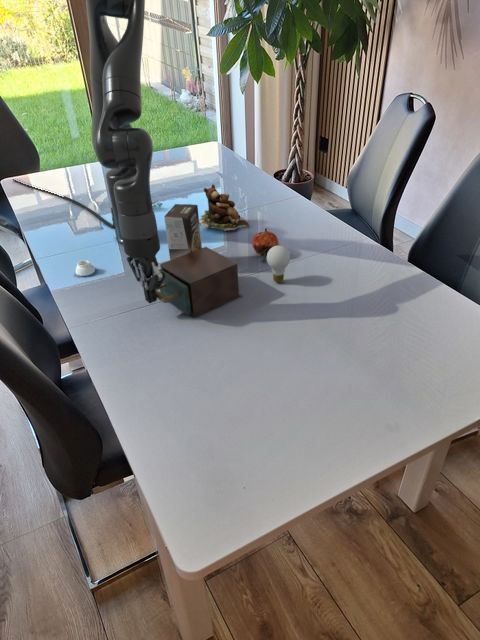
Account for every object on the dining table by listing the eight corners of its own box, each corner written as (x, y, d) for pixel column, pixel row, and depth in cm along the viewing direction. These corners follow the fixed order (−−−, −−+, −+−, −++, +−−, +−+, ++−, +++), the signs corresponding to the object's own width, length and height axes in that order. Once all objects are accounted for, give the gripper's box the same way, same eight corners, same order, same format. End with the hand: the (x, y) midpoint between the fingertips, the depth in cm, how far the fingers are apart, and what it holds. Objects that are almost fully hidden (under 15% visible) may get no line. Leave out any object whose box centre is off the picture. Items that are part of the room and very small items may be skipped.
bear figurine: (221, 238, 151) (218, 198, 144) (192, 223, 160) (188, 185, 153) (255, 225, 158) (254, 187, 151) (226, 211, 167) (223, 175, 160)
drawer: (171, 322, 114) (167, 295, 109) (145, 303, 121) (140, 276, 116) (229, 296, 123) (227, 269, 118) (201, 279, 129) (199, 253, 125)
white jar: (98, 272, 135) (89, 266, 138) (96, 262, 133) (87, 256, 136) (82, 279, 132) (72, 272, 135) (79, 269, 131) (70, 263, 134)
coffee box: (194, 275, 133) (187, 217, 123) (171, 273, 134) (162, 216, 124) (204, 259, 140) (198, 204, 130) (182, 258, 141) (175, 202, 131)
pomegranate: (278, 266, 140) (284, 235, 143) (272, 255, 134) (277, 221, 136) (254, 266, 143) (259, 234, 145) (246, 254, 136) (252, 221, 138)
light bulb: (292, 278, 131) (293, 243, 125) (285, 289, 126) (286, 253, 120) (271, 275, 132) (270, 240, 126) (263, 285, 128) (263, 250, 122)
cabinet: (194, 317, 117) (190, 283, 112) (165, 296, 125) (160, 264, 119) (239, 296, 124) (237, 263, 119) (208, 278, 132) (205, 246, 126)
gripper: (107, 225, 106) (122, 295, 117) (139, 246, 98) (152, 319, 109) (138, 216, 110) (150, 284, 121) (171, 234, 102) (181, 306, 113)
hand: (151, 300), depth 115 cm, fingers closed
